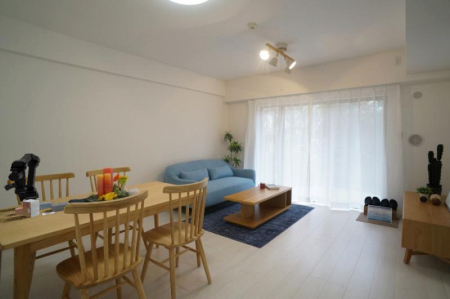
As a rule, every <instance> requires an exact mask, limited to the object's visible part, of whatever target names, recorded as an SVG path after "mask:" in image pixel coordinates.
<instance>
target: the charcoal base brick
mask: <svg viewBox="0 0 450 299" xmlns="http://www.w3.org/2000/svg"><path fill="white" fill-rule="evenodd" d="M68 204H69V202H68V201H64V202H63V201H62V202H57V203H56V202H55V203H51V208H50V210H51V211H50V212H61V211H65V210H64V207H65V206H66V205H68Z"/></svg>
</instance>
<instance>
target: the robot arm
mask: <svg viewBox="0 0 450 299" xmlns="http://www.w3.org/2000/svg"><path fill="white" fill-rule="evenodd" d="M40 163H41V158H40V157H39V156H38V155H36V154H34V153H31V152H30V153H24V155H23V156H22V157H21V158H20V159H15V160H14V161H13V162H11V165H10V170H9V171H10V172H11V173H9V175H8V177H7V178H8V180H9V181H11V183H8V184H5V185H3V188H4V189H5V191H6V192H8V191H10V190H11V189H12V190H13V189H14V194H15V195H17V196H18V198H19V201H20V202H21V203H22V201H26V200H30V199H32V200H38V198H40V194H39V192H38V190H37V188H36V186H35V183H36V174H37V168H38V167H39V166H40ZM27 168H28V169H27ZM26 170H28V171H27V174H26Z"/></svg>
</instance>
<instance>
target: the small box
mask: <svg viewBox="0 0 450 299" xmlns="http://www.w3.org/2000/svg"><path fill="white" fill-rule="evenodd" d="M21 203H22V207H23V214H22V216H23V217H27V218H33V217H37V216H40V209H39V203H40V200H39V199H36V200H32V199H30V200H26V199H25V200H23V201H22V202H21Z"/></svg>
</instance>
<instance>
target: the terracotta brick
mask: <svg viewBox="0 0 450 299" xmlns="http://www.w3.org/2000/svg"><path fill="white" fill-rule="evenodd" d="M14 210H15V211H14V213H15V216H17V215H18V216H19V215H23V206H20V207H15V209H14Z"/></svg>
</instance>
